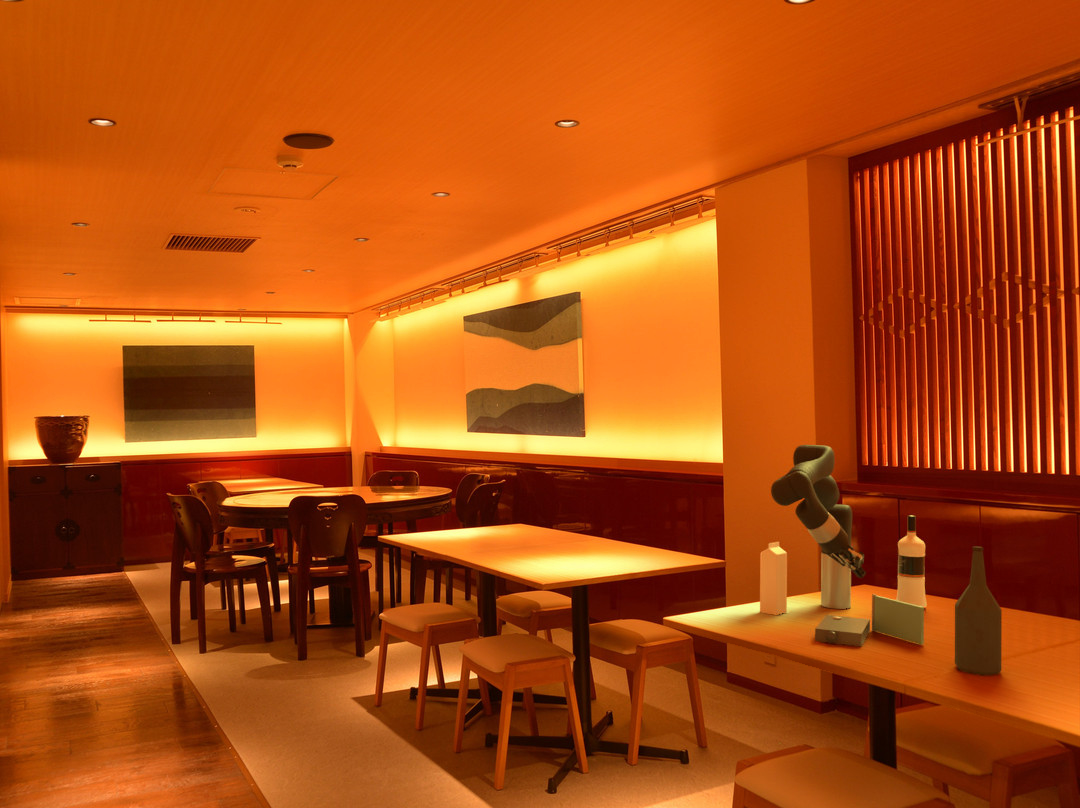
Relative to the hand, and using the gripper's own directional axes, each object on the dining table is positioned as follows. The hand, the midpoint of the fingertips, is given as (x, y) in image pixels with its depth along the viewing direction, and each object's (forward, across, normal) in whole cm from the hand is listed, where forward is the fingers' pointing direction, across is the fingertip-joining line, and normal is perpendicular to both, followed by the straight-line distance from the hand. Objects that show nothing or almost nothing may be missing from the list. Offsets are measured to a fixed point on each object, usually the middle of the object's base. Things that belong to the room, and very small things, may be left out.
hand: (862, 575), depth 242 cm
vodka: (+50, +33, -23) cm, 64 cm away
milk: (+16, +42, +11) cm, 46 cm away
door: (+24, +2, +3) cm, 24 cm away
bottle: (+19, -30, +7) cm, 36 cm away
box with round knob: (+15, +9, +12) cm, 21 cm away
